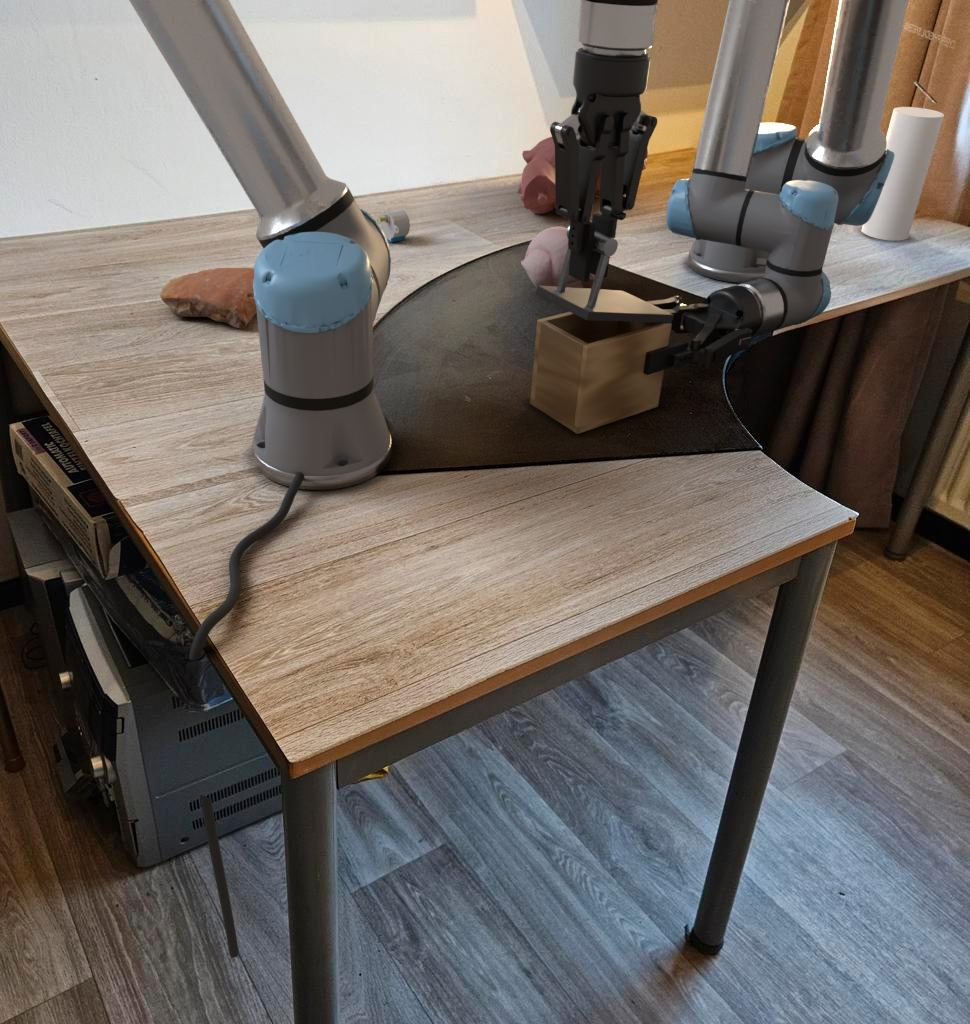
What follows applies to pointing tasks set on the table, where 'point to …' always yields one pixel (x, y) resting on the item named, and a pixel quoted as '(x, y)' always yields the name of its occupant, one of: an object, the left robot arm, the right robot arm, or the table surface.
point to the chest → (594, 369)
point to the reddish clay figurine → (543, 177)
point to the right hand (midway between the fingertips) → (619, 348)
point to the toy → (549, 258)
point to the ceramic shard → (213, 295)
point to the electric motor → (394, 224)
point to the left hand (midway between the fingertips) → (587, 275)
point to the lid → (601, 293)
